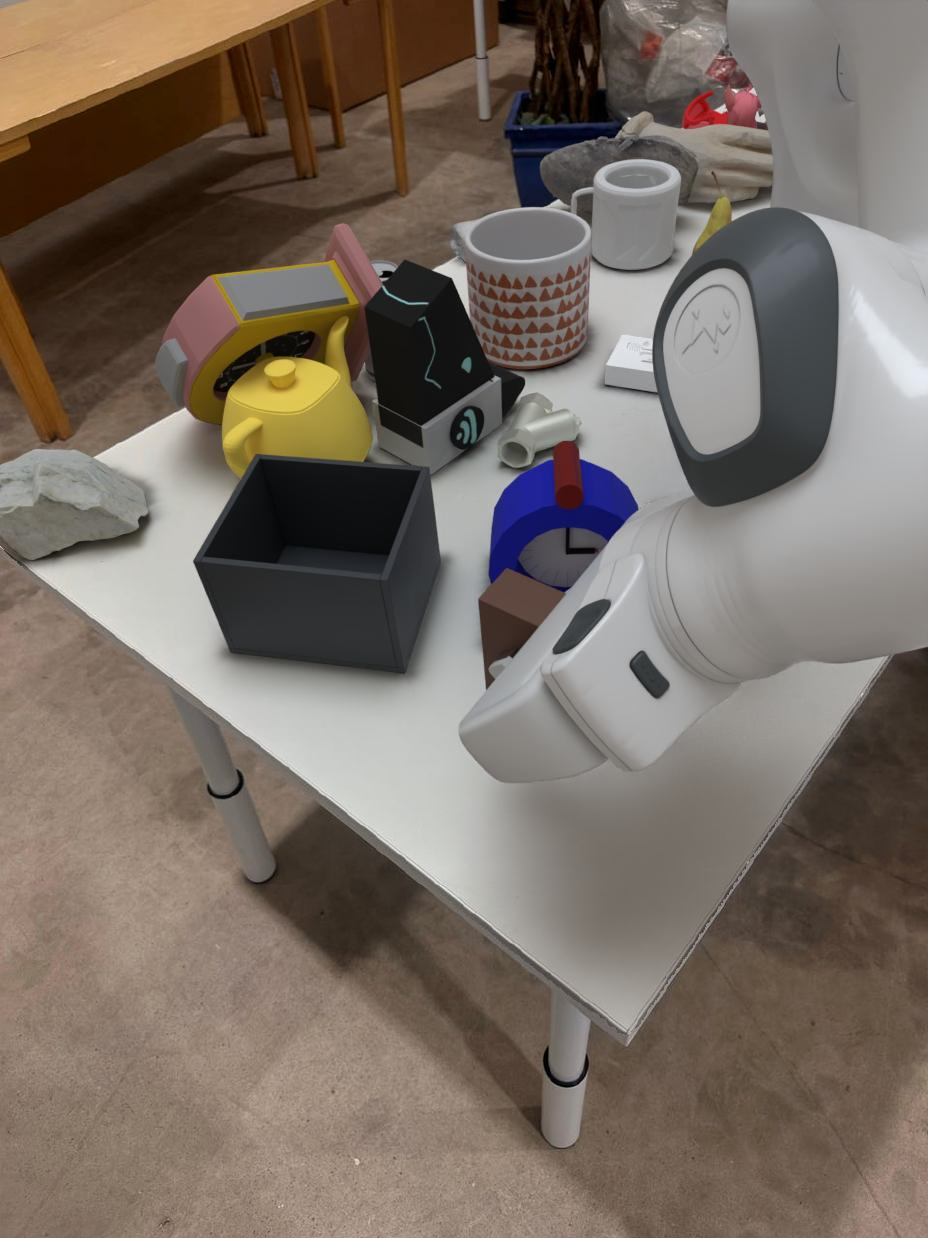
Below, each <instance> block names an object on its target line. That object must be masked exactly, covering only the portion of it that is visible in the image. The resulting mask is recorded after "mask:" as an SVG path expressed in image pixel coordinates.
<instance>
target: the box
mask: <svg viewBox="0 0 928 1238" xmlns="http://www.w3.org/2000/svg"><path fill="white" fill-rule="evenodd" d="M652 346H653V338H651V337H650V338H649V337H642V336H635V335H628V334H621V336H620V338H619V340H618V342H617V343H616V346H615V347H614V349H613V351H612V353H611V354H610V356H609V358H608V360H607V361H606V364H605V371H604V385H607V386H608V385H609V386H613V387H620V388H627V389H633V390H634V389H635V390H641V391H647V392H653V393H658V392H657V388H656V383H655V378H654V372H653V363H652Z"/></svg>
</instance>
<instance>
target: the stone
mask: <svg viewBox="0 0 928 1238" xmlns="http://www.w3.org/2000/svg"><path fill="white" fill-rule="evenodd" d="M633 159H646V160H655V161H660V162H664V163H667V164H669V165H671V166H673V167H675V168H676V169H677V170H678V171H679V173H680V175H681V185H680V193H679V199H678V206H680V205H681V206H682V204H687V203H689V202H688V199H689V197H690V193H691V190H692V187H693V184H694V181H695V178H696V175H697V171H698V168H699V163H700V161H699V159H698V157H697V156H696V155H695V153H694V151H693V150H692V149H691V151H690V150H689V149H687V148H685V147H684V146H683V145H681V144H680V143H679V142H677V141H675V140H673V139H672V138H668V137H666V136H659V135H651V136H644V137H639V136H638V135H636V136H634V137H632V138H631V137H628V136H627V137H623V135H620V137H619V138H615V137H612V138H608V136H599V137H597V138H596V139H591V140H584V141H581V142H580V143H574V144H571V145H567V146H564V147H562V148H558V149H556V150H553V151H552V152H551V153H549V154H546V155H544V157H543V159H541V161H540V163H539V164H540V165H539V172H540V178H541V180H542V183H543V185H544V186H545V187H546V189H547V190H548V192H549V193H550V194H551V195H552V197H553V198H557V199H558V200H559V201H560V202H561V203H563V205H567V206H568V207H571V199H572V194H573V193H574V192H576V191H577V190H580V189H584V188H590V187H593V184H594V177H595V175H596V174H597V172H598V171H599V170H600V169H601V168H603V167H604V166H606V165H609V164H612V163H615V162H619V161H624V160H633ZM576 199H577V211H582V212H585V213H588V214H592V212H593V194H592V193H590V194H584V195H581V196H578V197H577V198H576Z"/></svg>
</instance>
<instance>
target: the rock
mask: <svg viewBox="0 0 928 1238" xmlns="http://www.w3.org/2000/svg"><path fill="white" fill-rule="evenodd" d="M149 511H150V510H149V507H148V503H147V499H146V492H145V491H144V490H143V489H142V487H139V486H138V485H137V484H135V483H134V482H132V481H131V480H129V479H128V478H126V477H124V476H123V475H121V474H120V473H118V472H117V471H115V470H114V469H113V468H111V467H110V466H109V465H107V464H106V463H104V462H102V461H100V460H99V459H97V458H95V457H92V456H90V455H88V454H86V453H84V452H82V451H79V450H77V449H73V448H72V449H69V450H67V449H45V448H34V449H32V450H30V451H28V452H26V453H25V452H24V453H23V454H22V455H20V456H18V457H17V458H14V459H13V460H10V461H6V462H4V463H2V464H0V538H1V539H2V540H3V541H4V542H5V543H6V544H7V545H8V546H9V547H10V548H11V549H12V550H13V551H14V552H15V553H16V554H17V555H18V556H19V557H22V558H24V559H27V560H29V561H34V560H38V559H40V558H43V557H46V556H48V555H51V553H52V552H56V551H58V552H60V551H61V550H63V549H65V548H68V547H71V546H73V545H75V544H77V543H79V542H83V541H90V542H91V541H97V540H105V539H106V540H107V539H113V538H117V537H119V536H121V535H124V534H125V535H126V534H131V533H133V532H134V531H136V530H138V529H139V528H140V525H139V519H140V517H146V516H148V514H149Z"/></svg>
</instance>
